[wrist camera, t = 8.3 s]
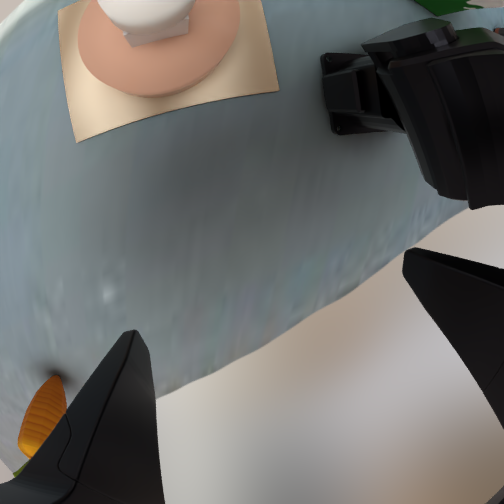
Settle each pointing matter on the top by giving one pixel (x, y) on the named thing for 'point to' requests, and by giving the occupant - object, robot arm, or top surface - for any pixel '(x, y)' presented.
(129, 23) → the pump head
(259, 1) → the birch board
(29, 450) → the carrot
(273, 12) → the top surface
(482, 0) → the milk carton
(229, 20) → the soap jar
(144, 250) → the top surface
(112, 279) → the top surface
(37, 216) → the top surface
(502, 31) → the supplement bottle
